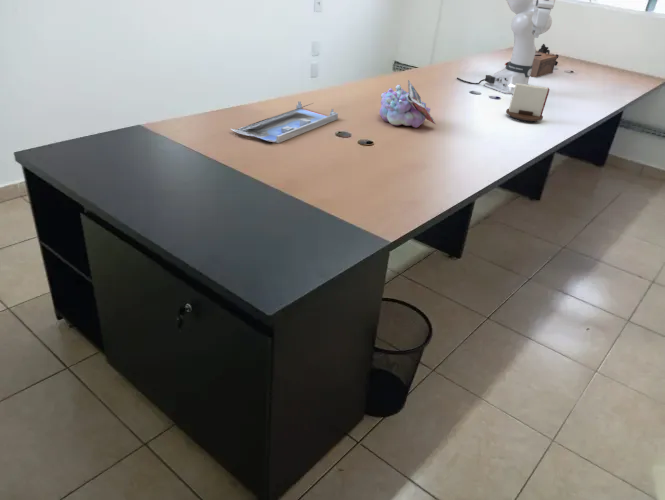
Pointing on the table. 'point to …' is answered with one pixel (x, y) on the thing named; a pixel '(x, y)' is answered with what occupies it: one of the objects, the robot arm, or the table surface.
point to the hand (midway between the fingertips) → (534, 36)
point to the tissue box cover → (543, 64)
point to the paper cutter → (287, 124)
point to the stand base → (523, 120)
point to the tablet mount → (546, 51)
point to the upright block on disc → (528, 102)
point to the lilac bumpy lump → (404, 107)
